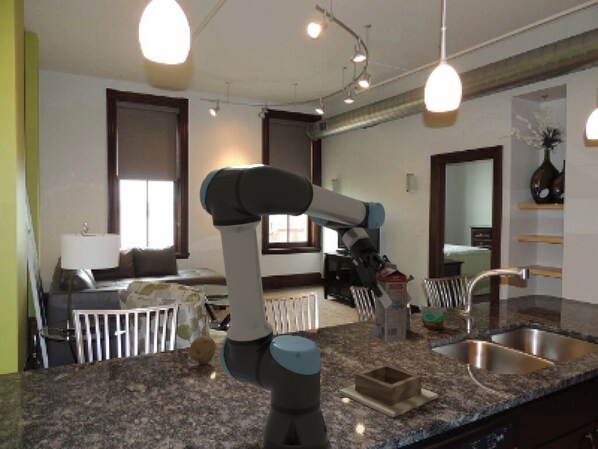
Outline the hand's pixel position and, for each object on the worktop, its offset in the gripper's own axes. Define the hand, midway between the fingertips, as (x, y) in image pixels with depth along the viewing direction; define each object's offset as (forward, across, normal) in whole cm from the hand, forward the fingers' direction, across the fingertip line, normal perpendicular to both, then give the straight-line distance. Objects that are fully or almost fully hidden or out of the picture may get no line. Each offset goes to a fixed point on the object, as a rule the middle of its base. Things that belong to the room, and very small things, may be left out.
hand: (399, 303), depth 127 cm
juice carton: (+5, 0, -10) cm, 11 cm away
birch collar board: (+17, 0, -22) cm, 28 cm away
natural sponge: (-24, +31, -63) cm, 74 cm away
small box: (-13, -57, -52) cm, 78 cm away
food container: (-9, -74, -47) cm, 89 cm away
